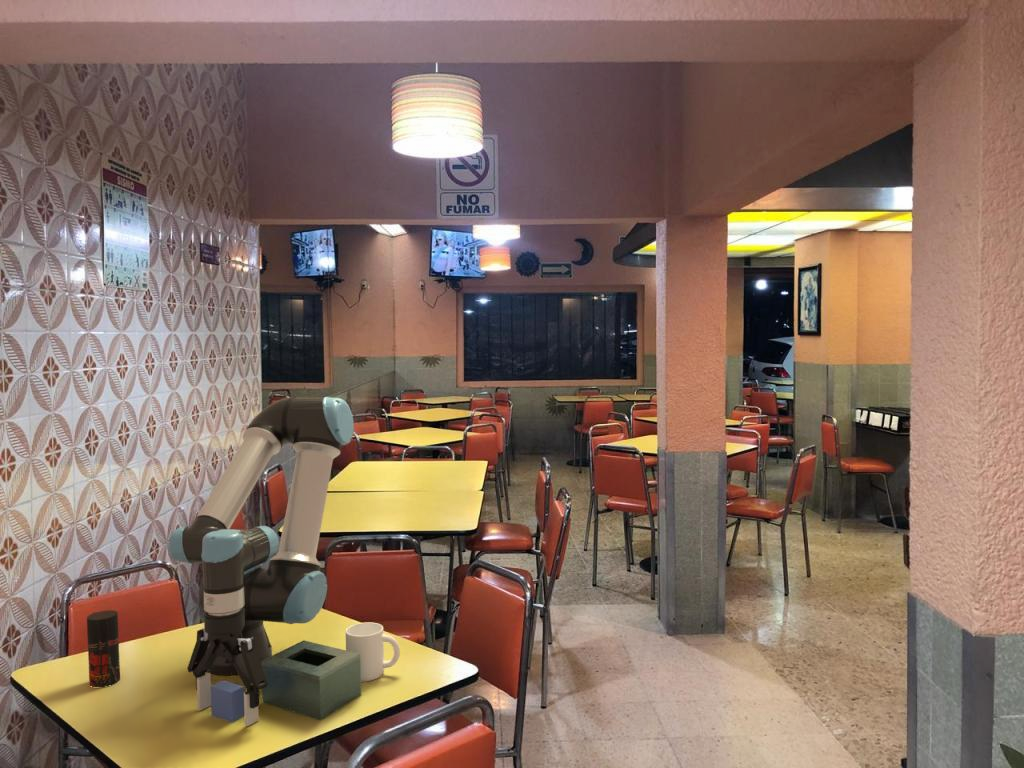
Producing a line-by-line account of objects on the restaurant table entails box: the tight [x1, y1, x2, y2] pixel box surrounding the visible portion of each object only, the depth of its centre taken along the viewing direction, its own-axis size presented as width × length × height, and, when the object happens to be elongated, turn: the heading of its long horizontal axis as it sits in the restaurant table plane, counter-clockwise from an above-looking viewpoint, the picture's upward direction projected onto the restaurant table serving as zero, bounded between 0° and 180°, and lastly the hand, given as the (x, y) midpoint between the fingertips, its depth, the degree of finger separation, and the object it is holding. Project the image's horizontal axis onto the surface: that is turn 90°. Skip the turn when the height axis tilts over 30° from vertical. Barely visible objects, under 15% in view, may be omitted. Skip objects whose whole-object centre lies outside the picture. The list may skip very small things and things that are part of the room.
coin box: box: [261, 640, 362, 721], centre depth 153 cm, size 16×12×9 cm
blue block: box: [210, 679, 245, 723], centre depth 146 cm, size 6×3×6 cm, turn 61°
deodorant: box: [86, 609, 121, 688], centre depth 162 cm, size 6×6×15 cm
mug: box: [345, 621, 401, 683], centre depth 164 cm, size 12×8×10 cm
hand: (227, 715), depth 146 cm, fingers open, 13 cm apart
